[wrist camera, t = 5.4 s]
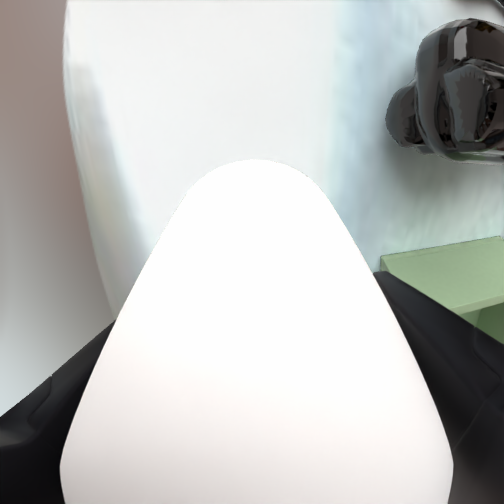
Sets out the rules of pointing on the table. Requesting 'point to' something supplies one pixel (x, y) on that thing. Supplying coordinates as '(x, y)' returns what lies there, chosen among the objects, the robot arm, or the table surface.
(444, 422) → the robot arm
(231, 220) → the can
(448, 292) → the bin
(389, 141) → the table surface
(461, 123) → the cat figurine
